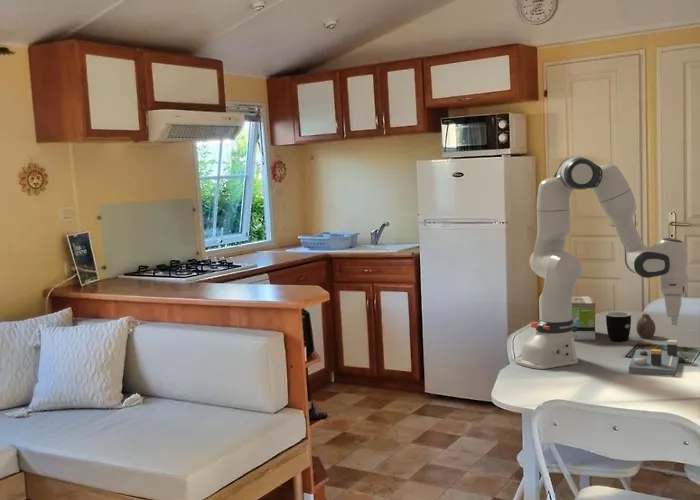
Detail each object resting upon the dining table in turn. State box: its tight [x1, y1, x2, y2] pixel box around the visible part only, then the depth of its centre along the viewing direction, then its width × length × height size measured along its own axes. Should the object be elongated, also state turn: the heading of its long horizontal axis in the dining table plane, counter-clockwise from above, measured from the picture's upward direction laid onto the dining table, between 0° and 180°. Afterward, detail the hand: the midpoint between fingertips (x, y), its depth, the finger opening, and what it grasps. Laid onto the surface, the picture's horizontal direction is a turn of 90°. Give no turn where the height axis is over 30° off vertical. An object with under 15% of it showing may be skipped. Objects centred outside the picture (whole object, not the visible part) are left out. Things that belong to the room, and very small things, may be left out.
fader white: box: [666, 339, 678, 355], centre depth 259 cm, size 2×3×4 cm
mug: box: [605, 311, 632, 343], centre depth 291 cm, size 12×9×10 cm
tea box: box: [572, 296, 596, 341], centre depth 300 cm, size 15×10×15 cm, turn 168°
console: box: [628, 348, 681, 377], centre depth 255 cm, size 24×14×4 cm, turn 154°
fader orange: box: [650, 348, 663, 365], centre depth 248 cm, size 2×3×4 cm
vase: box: [636, 313, 656, 339], centre depth 293 cm, size 7×7×9 cm
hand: (674, 324), depth 263 cm, fingers closed
